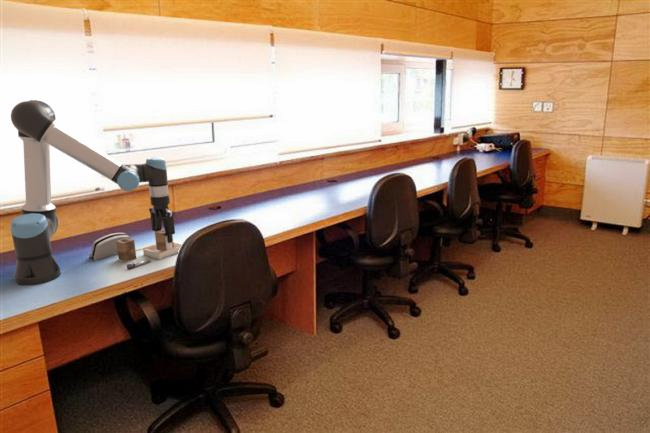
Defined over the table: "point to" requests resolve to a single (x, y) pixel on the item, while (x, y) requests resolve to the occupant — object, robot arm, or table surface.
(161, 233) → the block
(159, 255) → the tray
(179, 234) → the table surface
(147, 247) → the pencil
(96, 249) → the napkin holder
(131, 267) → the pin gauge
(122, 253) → the block
